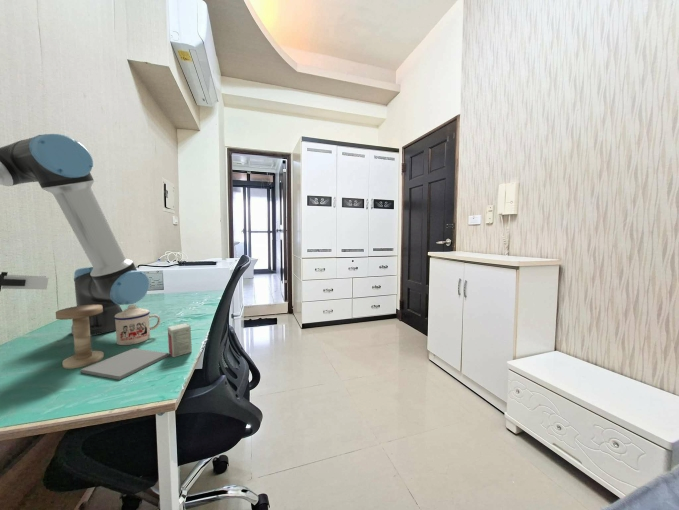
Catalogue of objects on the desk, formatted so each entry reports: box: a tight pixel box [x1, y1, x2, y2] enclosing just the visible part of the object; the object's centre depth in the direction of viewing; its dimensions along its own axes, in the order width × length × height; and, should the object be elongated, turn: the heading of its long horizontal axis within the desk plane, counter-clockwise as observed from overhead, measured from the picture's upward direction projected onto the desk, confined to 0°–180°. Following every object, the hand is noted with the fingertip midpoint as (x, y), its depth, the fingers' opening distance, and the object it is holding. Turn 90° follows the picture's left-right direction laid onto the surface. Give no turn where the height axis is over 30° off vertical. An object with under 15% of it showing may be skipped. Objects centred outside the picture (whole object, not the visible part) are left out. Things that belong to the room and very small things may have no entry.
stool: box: [55, 305, 104, 370], centre depth 72 cm, size 9×9×14 cm
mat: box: [80, 347, 170, 381], centre depth 71 cm, size 13×13×1 cm
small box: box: [167, 322, 192, 358], centre depth 77 cm, size 5×4×8 cm
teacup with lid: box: [114, 304, 161, 346], centre depth 87 cm, size 12×9×12 cm
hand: (46, 282), depth 67 cm, fingers open, 13 cm apart
